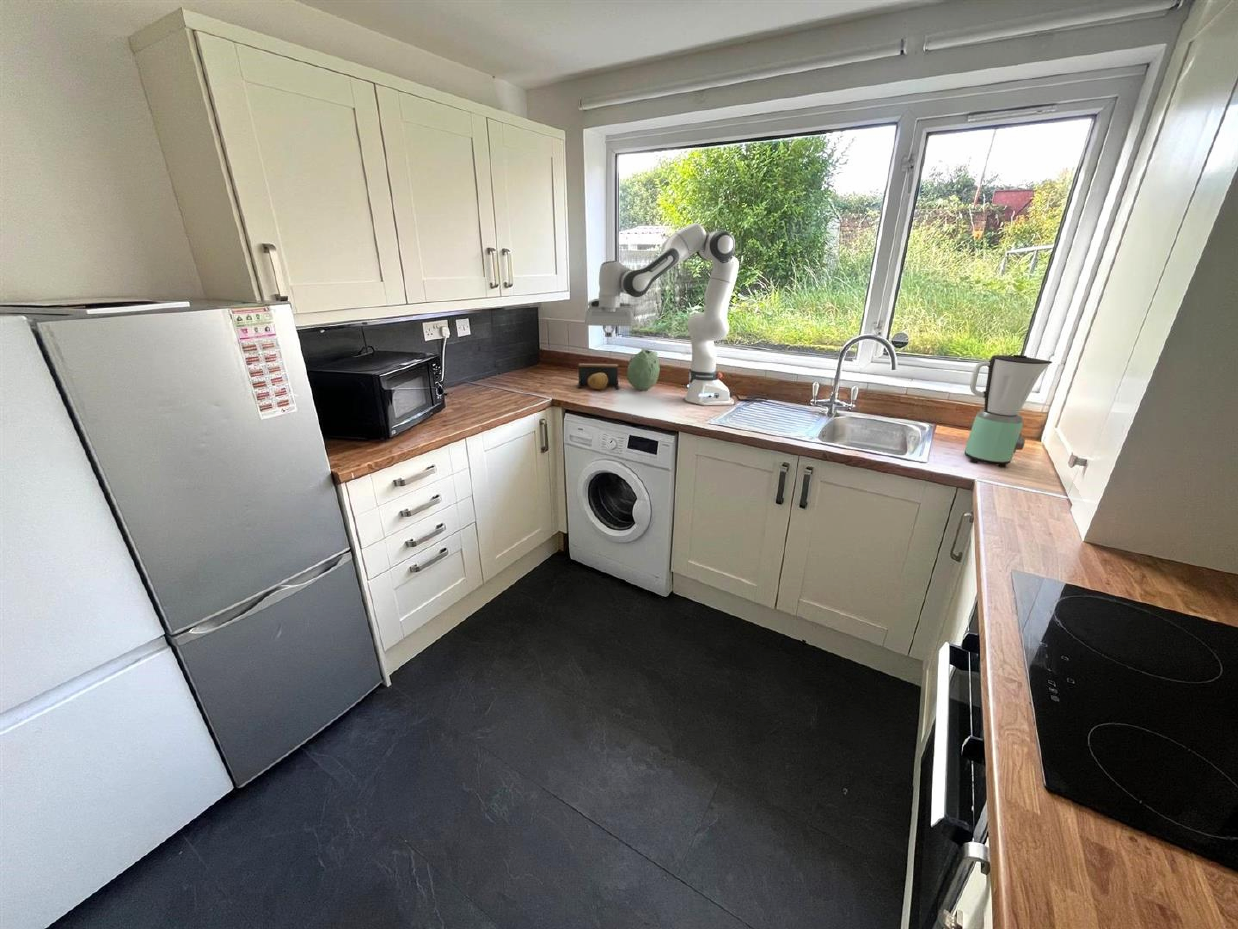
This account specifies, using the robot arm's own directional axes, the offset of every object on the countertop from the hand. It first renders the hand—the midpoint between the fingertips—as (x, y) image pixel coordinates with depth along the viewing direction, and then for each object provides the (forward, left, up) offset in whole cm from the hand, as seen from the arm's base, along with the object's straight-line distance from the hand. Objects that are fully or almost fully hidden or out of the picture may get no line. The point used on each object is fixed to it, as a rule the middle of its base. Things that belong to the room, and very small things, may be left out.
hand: (608, 336), depth 211 cm
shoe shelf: (+3, -32, -29) cm, 44 cm away
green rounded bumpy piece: (-19, -28, -29) cm, 45 cm away
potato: (+3, -28, -29) cm, 41 cm away
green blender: (-124, +68, -29) cm, 144 cm away
